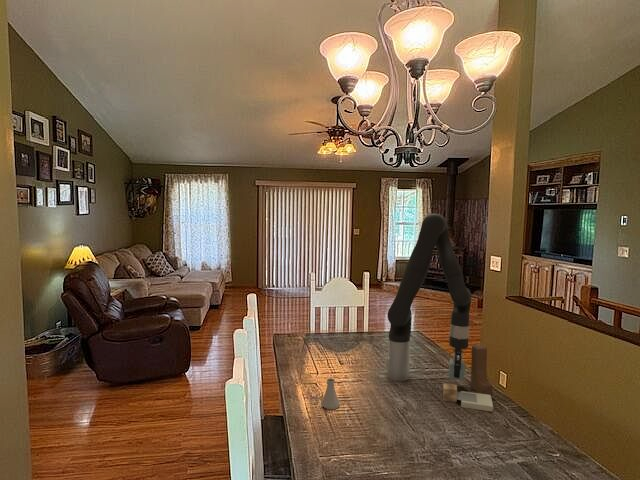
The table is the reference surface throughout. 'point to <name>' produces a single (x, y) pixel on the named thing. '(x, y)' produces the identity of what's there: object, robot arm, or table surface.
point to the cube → (451, 370)
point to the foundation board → (475, 401)
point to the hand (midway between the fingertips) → (456, 374)
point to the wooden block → (480, 370)
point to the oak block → (450, 392)
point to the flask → (330, 396)
